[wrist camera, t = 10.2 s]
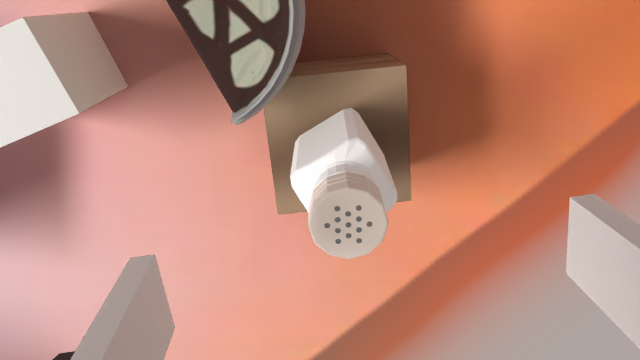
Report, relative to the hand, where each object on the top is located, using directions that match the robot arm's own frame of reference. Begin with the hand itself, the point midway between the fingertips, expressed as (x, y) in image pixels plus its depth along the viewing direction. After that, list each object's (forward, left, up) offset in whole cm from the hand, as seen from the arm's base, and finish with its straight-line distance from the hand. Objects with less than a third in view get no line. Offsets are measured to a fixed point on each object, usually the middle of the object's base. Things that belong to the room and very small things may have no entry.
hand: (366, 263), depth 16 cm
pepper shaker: (0, 0, -14) cm, 14 cm away
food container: (-9, -4, -20) cm, 22 cm away
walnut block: (0, 0, -20) cm, 20 cm away
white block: (-6, -16, -20) cm, 26 cm away
